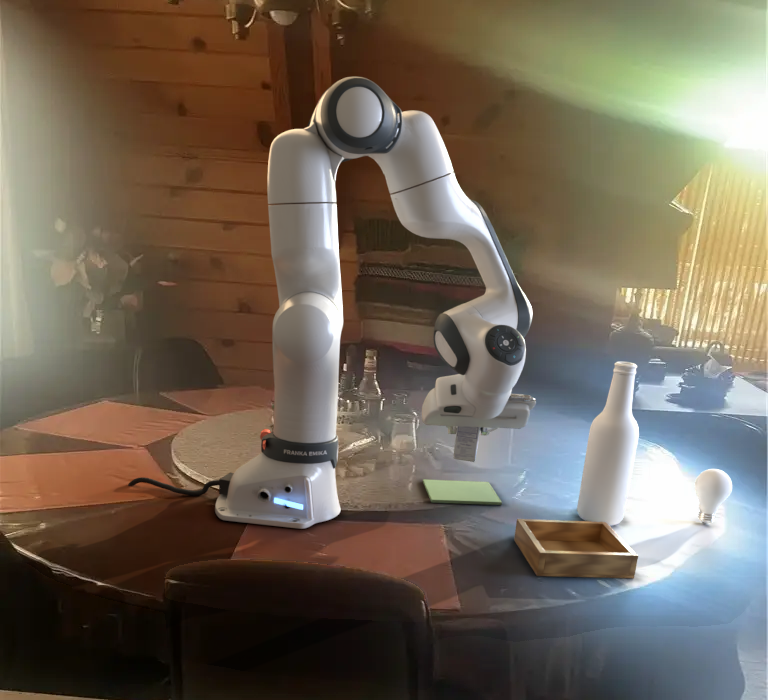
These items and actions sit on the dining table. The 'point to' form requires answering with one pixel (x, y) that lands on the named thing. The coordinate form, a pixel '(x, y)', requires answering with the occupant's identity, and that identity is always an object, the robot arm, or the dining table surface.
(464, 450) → the medicine box
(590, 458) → the alcohol
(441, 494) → the mat
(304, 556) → the dining table surface
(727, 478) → the light bulb
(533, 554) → the tray
